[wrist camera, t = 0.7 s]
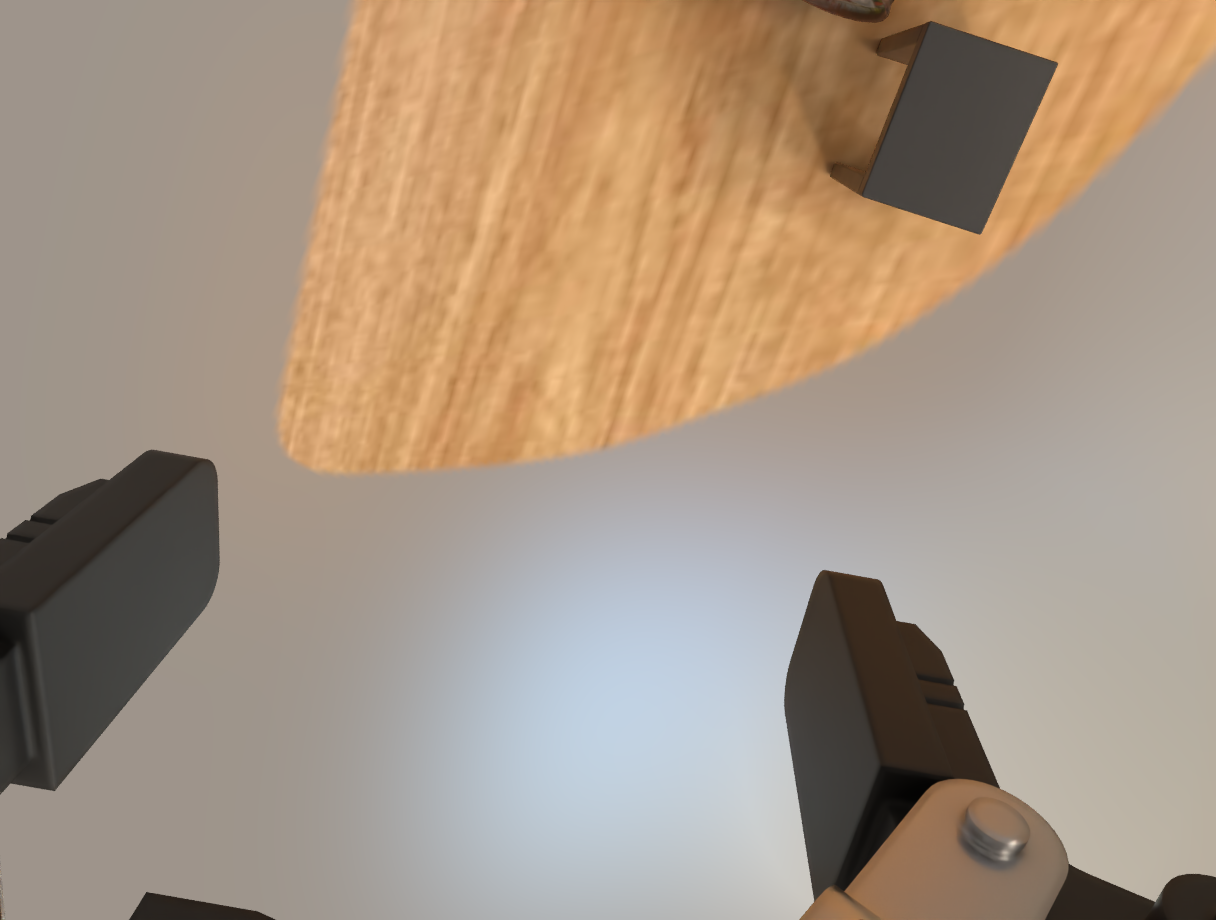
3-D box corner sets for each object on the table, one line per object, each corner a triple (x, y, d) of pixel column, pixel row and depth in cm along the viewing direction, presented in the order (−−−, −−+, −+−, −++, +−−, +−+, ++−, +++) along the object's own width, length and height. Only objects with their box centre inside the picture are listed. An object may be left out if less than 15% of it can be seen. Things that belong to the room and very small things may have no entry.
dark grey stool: (881, 38, 34) (930, 20, 27) (983, 70, 34) (1059, 62, 27) (829, 176, 36) (860, 196, 29) (925, 207, 36) (981, 235, 29)
